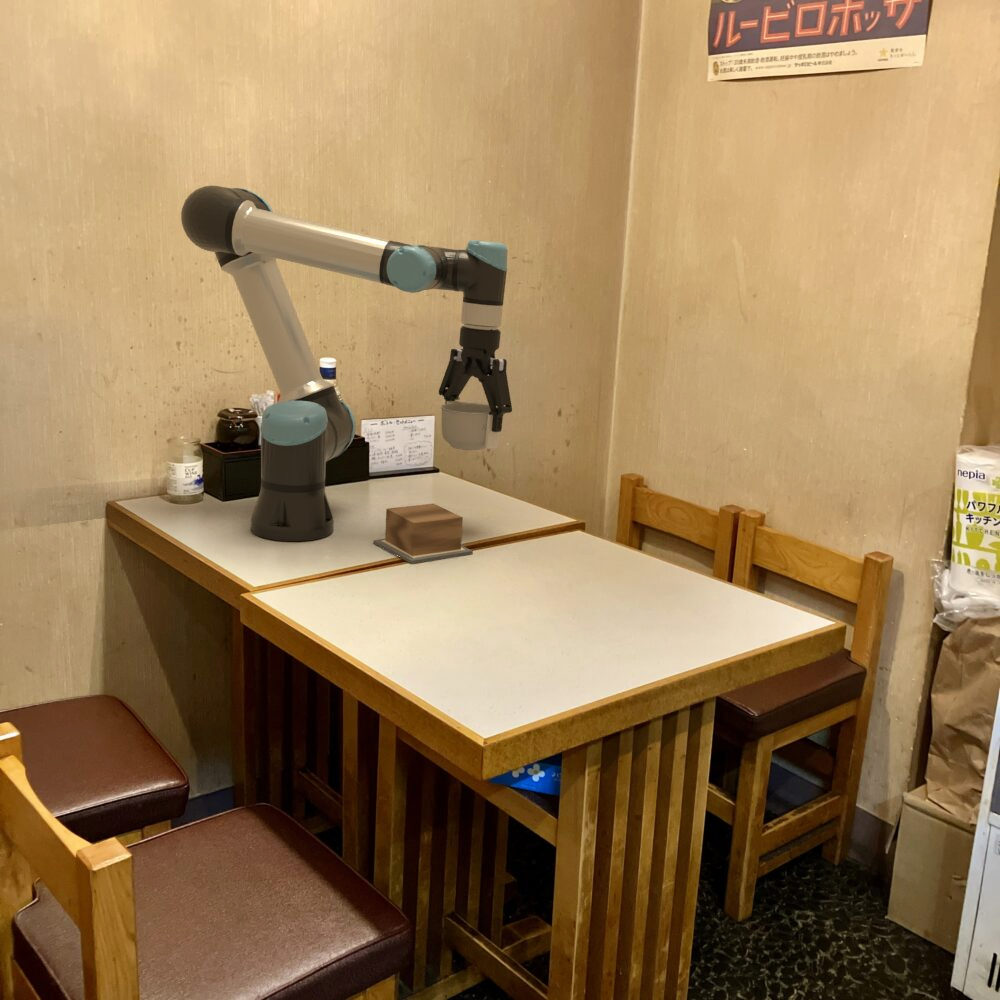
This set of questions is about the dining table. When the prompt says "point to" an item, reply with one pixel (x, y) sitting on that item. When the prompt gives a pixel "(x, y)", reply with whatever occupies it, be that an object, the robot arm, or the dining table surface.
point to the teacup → (465, 424)
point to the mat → (421, 558)
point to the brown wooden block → (423, 529)
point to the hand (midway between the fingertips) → (470, 441)
